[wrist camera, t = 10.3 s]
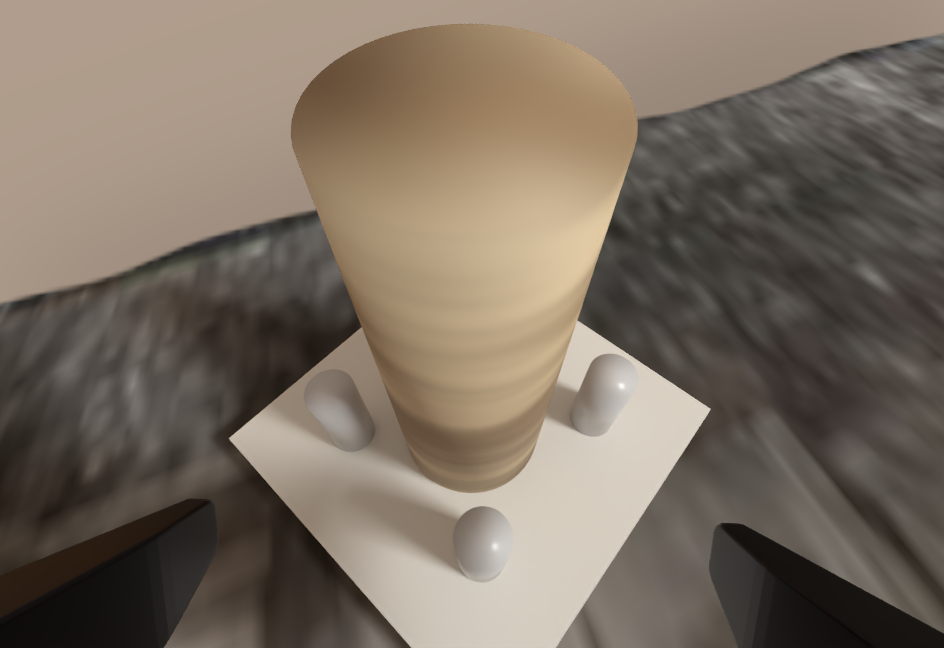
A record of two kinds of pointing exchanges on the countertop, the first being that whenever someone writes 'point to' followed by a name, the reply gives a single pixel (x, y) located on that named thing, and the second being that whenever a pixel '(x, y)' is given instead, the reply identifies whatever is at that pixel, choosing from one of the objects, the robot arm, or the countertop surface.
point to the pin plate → (474, 494)
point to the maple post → (466, 224)
